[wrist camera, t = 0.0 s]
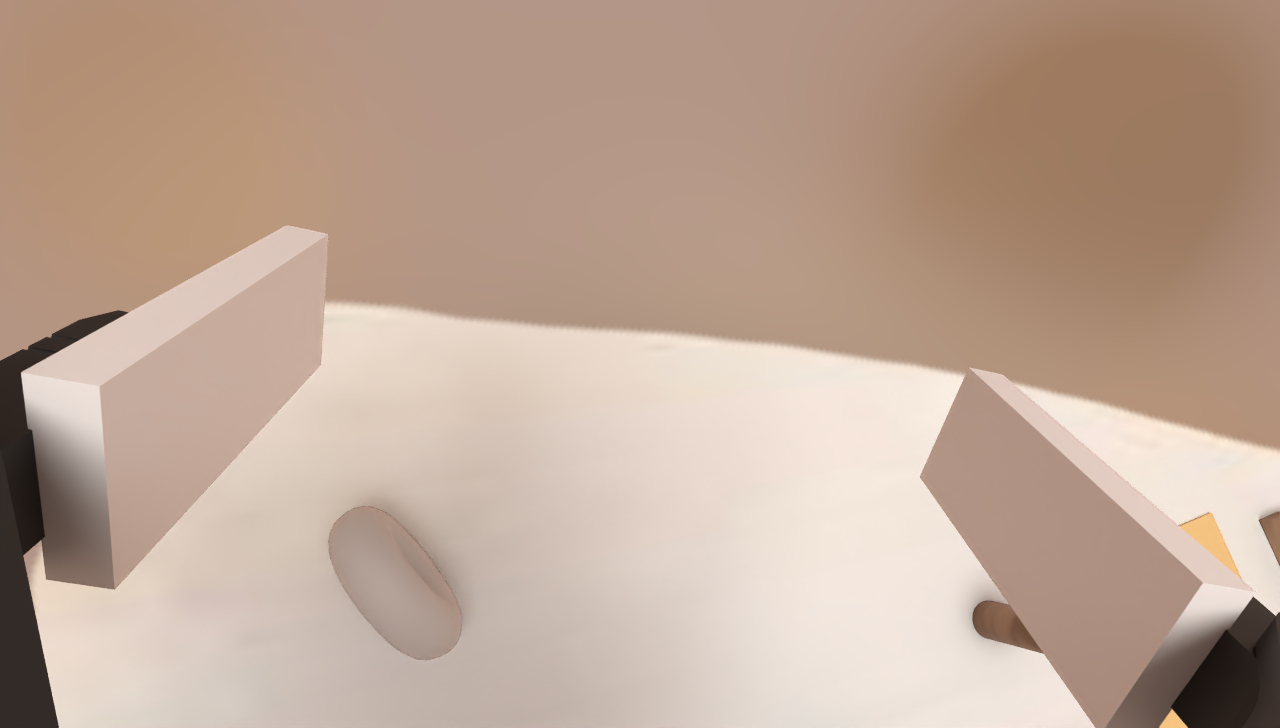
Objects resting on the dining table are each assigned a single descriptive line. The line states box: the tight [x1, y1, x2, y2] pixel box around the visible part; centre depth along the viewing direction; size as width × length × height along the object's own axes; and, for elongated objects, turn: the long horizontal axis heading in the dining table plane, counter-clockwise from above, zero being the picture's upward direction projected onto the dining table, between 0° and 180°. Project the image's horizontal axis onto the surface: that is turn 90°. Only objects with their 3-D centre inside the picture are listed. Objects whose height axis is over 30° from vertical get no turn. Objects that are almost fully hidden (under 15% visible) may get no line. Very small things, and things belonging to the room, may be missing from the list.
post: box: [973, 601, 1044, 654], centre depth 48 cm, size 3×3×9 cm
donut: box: [328, 506, 462, 660], centre depth 42 cm, size 10×3×10 cm, turn 39°
